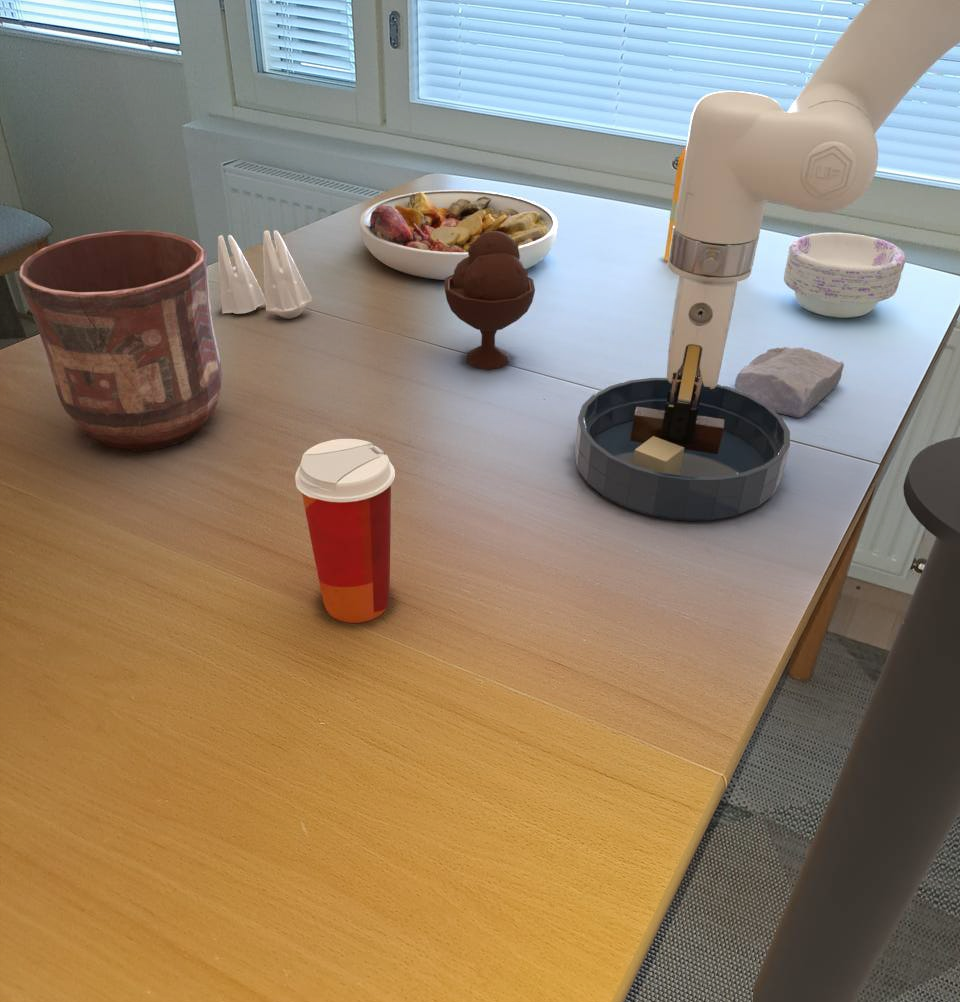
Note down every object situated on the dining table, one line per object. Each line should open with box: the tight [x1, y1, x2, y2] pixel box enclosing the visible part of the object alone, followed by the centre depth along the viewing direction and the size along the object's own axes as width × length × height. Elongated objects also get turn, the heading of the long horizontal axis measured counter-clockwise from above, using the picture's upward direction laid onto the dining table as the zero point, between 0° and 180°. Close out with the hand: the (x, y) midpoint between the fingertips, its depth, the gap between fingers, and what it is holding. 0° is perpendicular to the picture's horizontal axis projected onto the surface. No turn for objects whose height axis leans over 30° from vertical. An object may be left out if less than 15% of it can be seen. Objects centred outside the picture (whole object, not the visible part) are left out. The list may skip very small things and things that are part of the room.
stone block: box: [734, 346, 845, 419], centre depth 112 cm, size 12×5×10 cm
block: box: [633, 436, 684, 475], centre depth 95 cm, size 4×4×4 cm
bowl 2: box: [574, 377, 791, 522], centre depth 98 cm, size 21×21×5 cm
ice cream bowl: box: [444, 231, 536, 371], centre depth 113 cm, size 11×11×15 cm
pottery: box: [17, 230, 223, 452], centre depth 98 cm, size 18×18×18 cm
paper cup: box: [294, 438, 396, 624], centre depth 77 cm, size 8×8×14 cm
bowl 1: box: [359, 189, 559, 281], centre depth 144 cm, size 30×30×8 cm
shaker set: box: [217, 229, 313, 319], centre depth 124 cm, size 12×4×11 cm, turn 75°
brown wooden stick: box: [630, 407, 725, 454], centre depth 97 cm, size 9×2×3 cm, turn 77°
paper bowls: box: [783, 232, 907, 319], centre depth 130 cm, size 15×15×8 cm
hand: (677, 433), depth 97 cm, fingers closed on brown wooden stick, 2 cm apart
